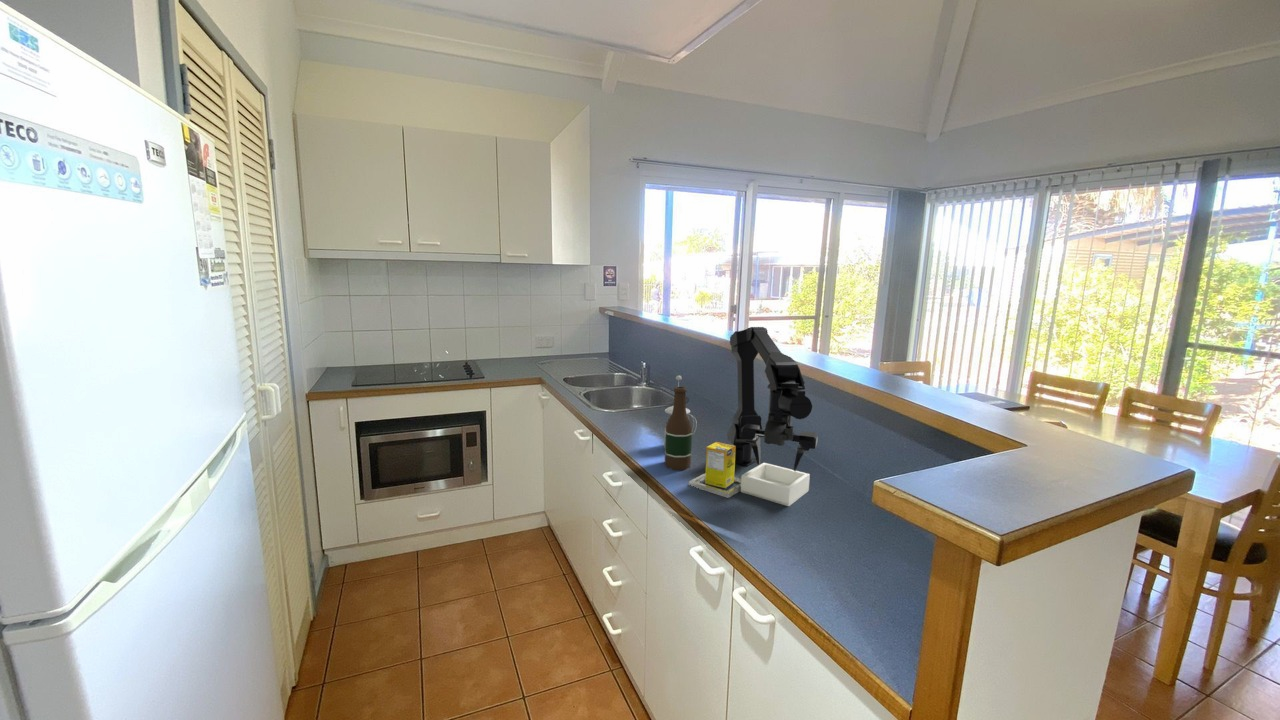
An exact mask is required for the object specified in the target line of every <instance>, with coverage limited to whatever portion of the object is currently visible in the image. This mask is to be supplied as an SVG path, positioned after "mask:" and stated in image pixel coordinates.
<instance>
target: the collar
mask: <svg viewBox="0 0 1280 720" xmlns="http://www.w3.org/2000/svg"><path fill="white" fill-rule="evenodd" d="M705 473H706V472H705ZM705 473H702V474H700V475H699V476H697V477H695V478H692V479H690V480H689V481H688V486H690V485H691V486H690V487H693V486H694V487H693V488H695V487H696V489H698V488H699V489H698V490H703V491H704V492H705V491H706V492H708V493H712V494H715V495H716V496H717V495H718V496H720V497H724V498H728V499H730V498H732V496H734V495H736V494H738V493H739V492H741V478H742V476H741V477H740V476H738V475H734V483H738V484H737V485H736V486H734V487H732V488H730V489H729V490H721V489H718V488H715V487H712V486H708V485H705V483H701V482H702V481H704V480H705ZM700 481H701V482H700Z"/></svg>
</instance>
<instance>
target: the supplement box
mask: <svg viewBox="0 0 1280 720" xmlns="http://www.w3.org/2000/svg"><path fill="white" fill-rule="evenodd" d="M705 451H706V452H705V453H706V454H705V479H704V480H705V481H704V484H705V485H708V486H712V487H715V488H718V489H721V490H725V491H728V489H729V488H731V487H732V486H734V484H735V481H734V476H735V470H736V469H735V467H736V463H735V451H736V446H734V445H733V444H727V443H723V442H718V441H715V442H714V443H711V444H710V445H708V446H706V449H705Z"/></svg>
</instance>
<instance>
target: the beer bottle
mask: <svg viewBox="0 0 1280 720" xmlns="http://www.w3.org/2000/svg"><path fill="white" fill-rule="evenodd" d="M673 392H674V394H673V396H674V397H673V405H672V406H673V412H672V415H671V414H670V416H669V418H668V419H667V421H666V422H667V424H666V423H665V426H666V436H665V435H664V440H665V448H664V465H665V467H666V468H667V469H671V470H672V471H673V470H674V471H686V470H688V469H690V468H691V466H692V465H691V463H692V462H691V461H692V440H693V439H692V438H693V437H692V436H693V435H692V434H693V430H692V428H693V426H692V424H691V421H690V418H689V416H688V414H687V415H686V408H687V404H686V403H687V401H686V399H687V398H686V393H687V388H686V387H684V386H679V387H678V386H676V387H674V389H673ZM688 418H689V419H688Z"/></svg>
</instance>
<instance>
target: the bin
mask: <svg viewBox="0 0 1280 720" xmlns="http://www.w3.org/2000/svg"><path fill="white" fill-rule="evenodd" d="M810 477H811V474H810V473H808V472H807V473H806V472H803V471H799V470H796V471H794V469H791V468H787V467H783V466H779V465H776V464H772V463H767V462H763V463H760V465H757V466H755V467H754V468H752V469H750V470H748V471H746V472H745V473H743V474H741V491H740V493H742V494H746V495H750V496H753V497H755V498H759V499H762V500H766V501H769V502H772V503H775V504H778V505H779V504H780V505H782V506H786V507H790V506H791V505H792V504H794V503H795V502H796V501H798V500H799V499H801V497H803V496H804V495H805V494H807V493H808V492H809V490H810V480H811V479H810Z"/></svg>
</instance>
